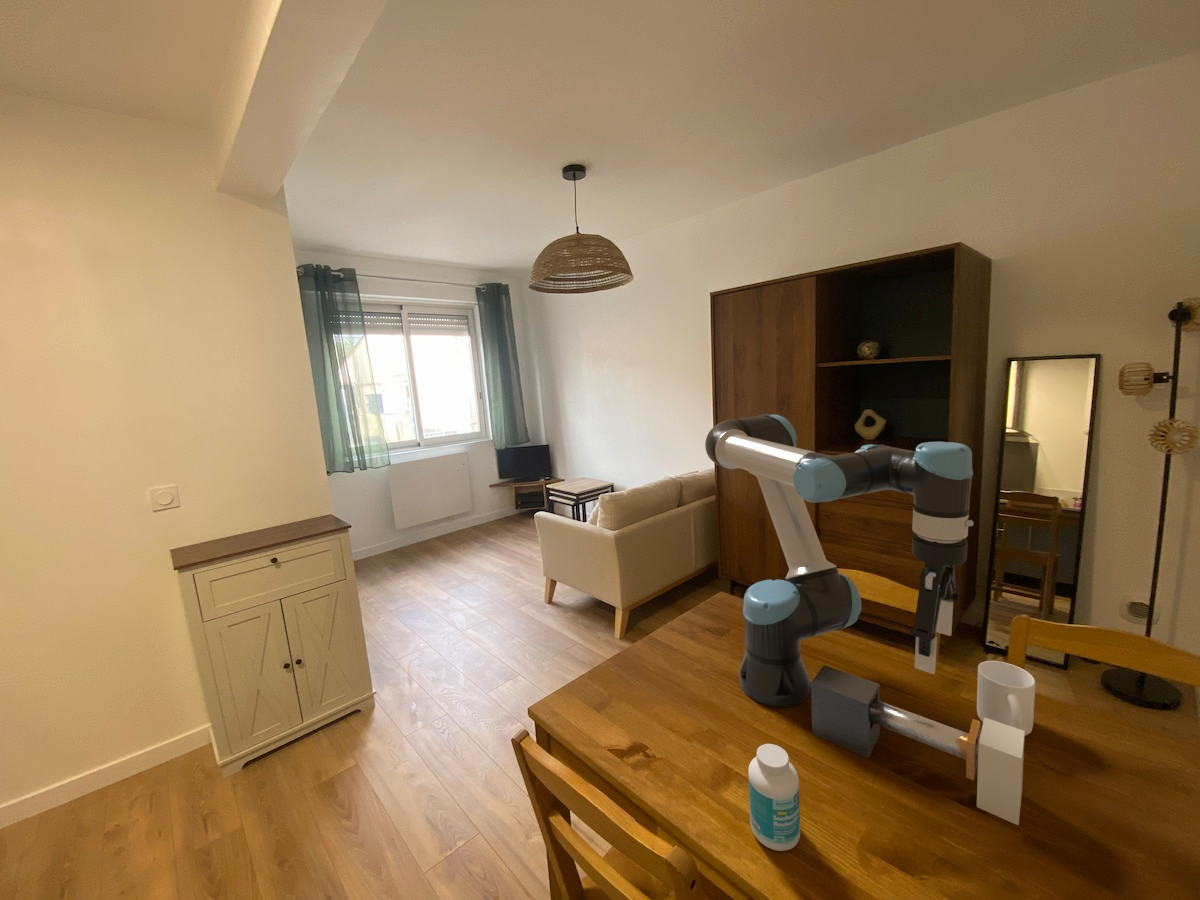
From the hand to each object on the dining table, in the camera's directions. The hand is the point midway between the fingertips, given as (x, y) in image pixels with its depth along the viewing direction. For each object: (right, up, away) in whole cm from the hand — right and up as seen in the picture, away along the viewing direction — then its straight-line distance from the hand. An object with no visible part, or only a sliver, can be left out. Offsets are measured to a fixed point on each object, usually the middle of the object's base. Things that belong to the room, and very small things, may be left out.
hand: (933, 650), depth 83 cm
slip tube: (-2, -17, 0) cm, 17 cm away
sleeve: (-11, -20, +9) cm, 25 cm away
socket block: (+6, -21, -7) cm, 23 cm away
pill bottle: (-31, -25, -8) cm, 41 cm away
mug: (+19, -18, +7) cm, 27 cm away
